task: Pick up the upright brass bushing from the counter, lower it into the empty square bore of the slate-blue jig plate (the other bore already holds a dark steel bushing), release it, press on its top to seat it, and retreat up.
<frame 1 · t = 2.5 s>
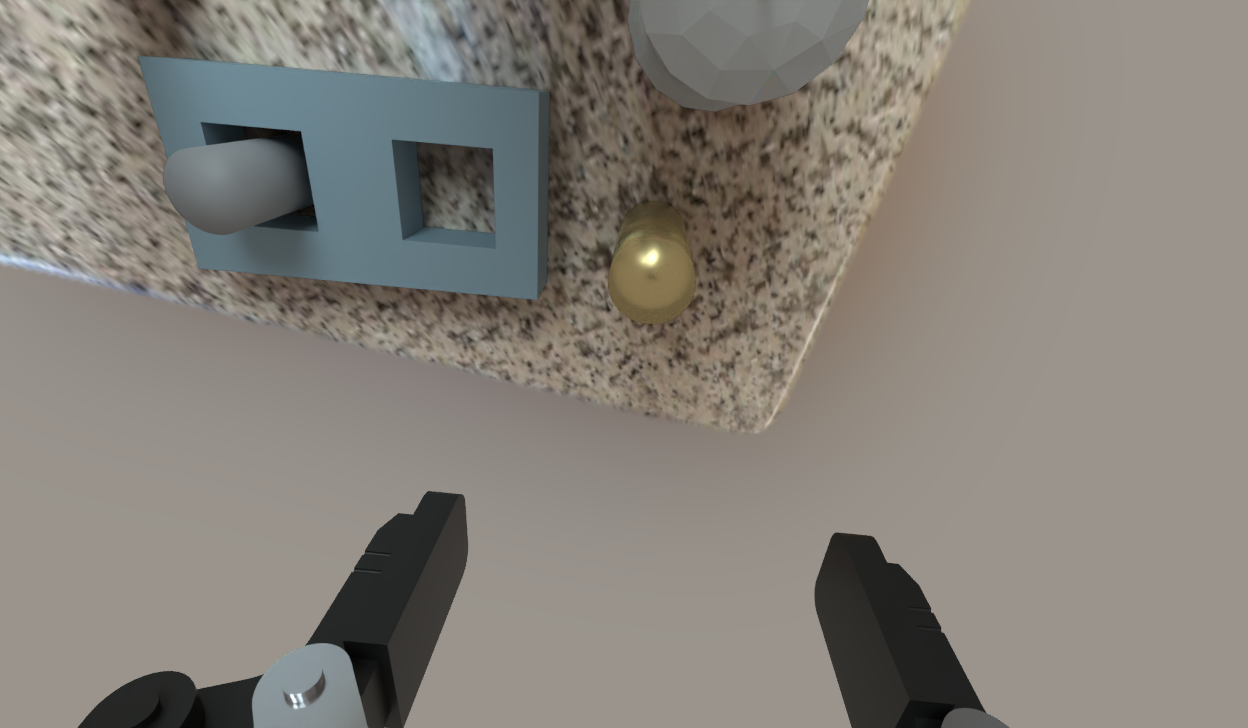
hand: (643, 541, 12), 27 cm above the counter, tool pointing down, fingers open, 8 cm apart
jig: (380, 178, 36), on the counter
french press: (730, 7, 30), on the counter
bushing: (652, 234, 36), on the counter
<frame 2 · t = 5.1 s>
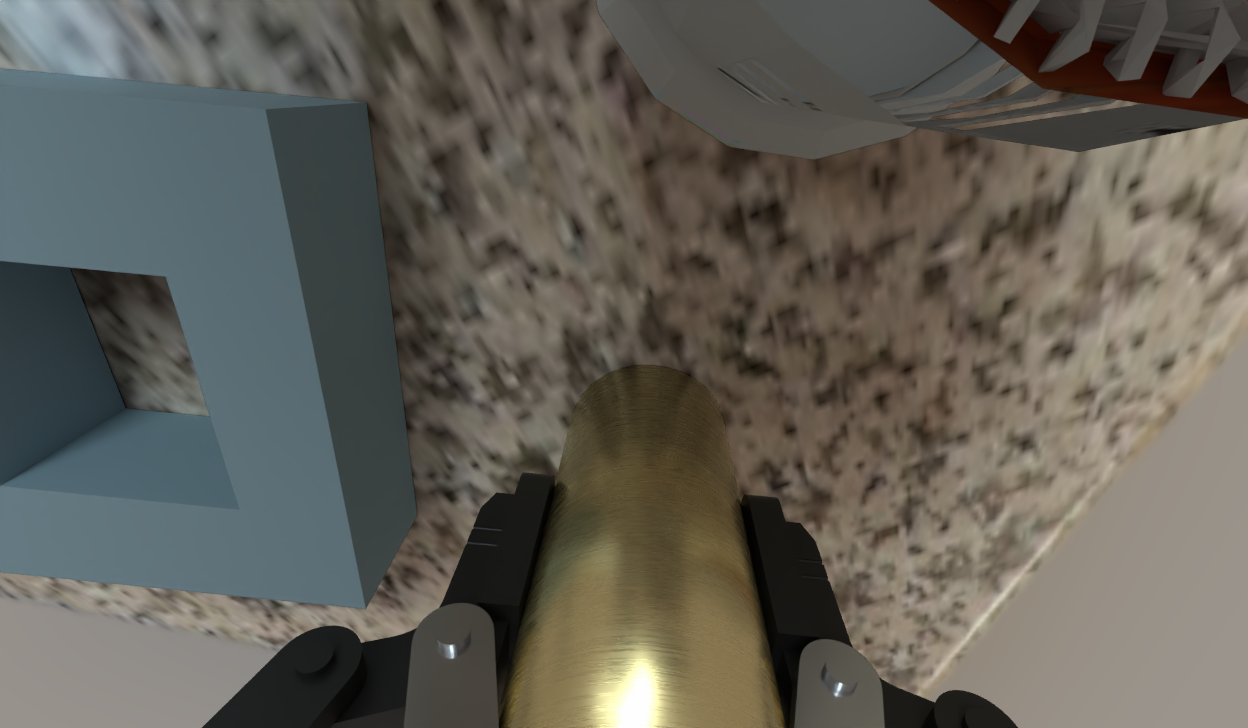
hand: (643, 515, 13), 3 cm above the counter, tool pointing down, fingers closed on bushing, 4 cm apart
bushing: (647, 433, 16), on the counter, touching gripper
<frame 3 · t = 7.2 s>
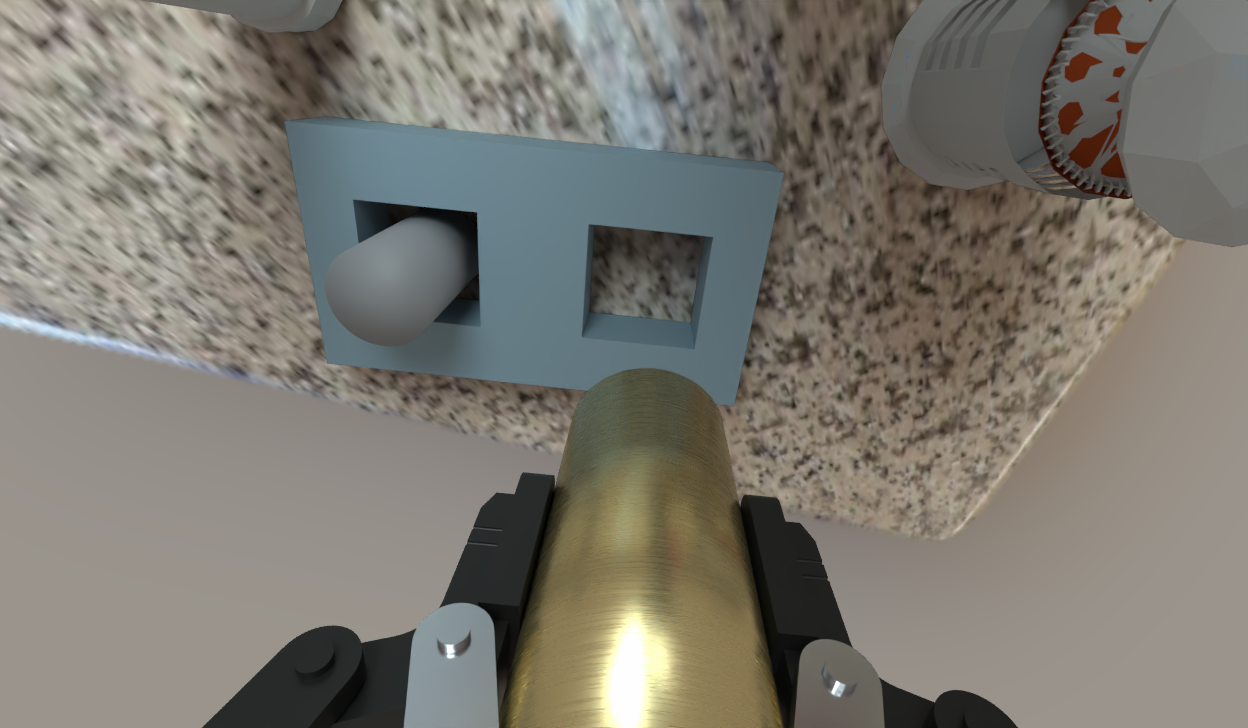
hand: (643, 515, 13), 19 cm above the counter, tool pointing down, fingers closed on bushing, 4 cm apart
jig: (544, 257, 30), on the counter
french press: (1010, 68, 25), on the counter
bushing: (646, 435, 16), point 16 cm above the counter, touching gripper
when the fingers open (5 cm above the counter, at t = 9.6 s): bushing drops 1 cm, resting in jig.
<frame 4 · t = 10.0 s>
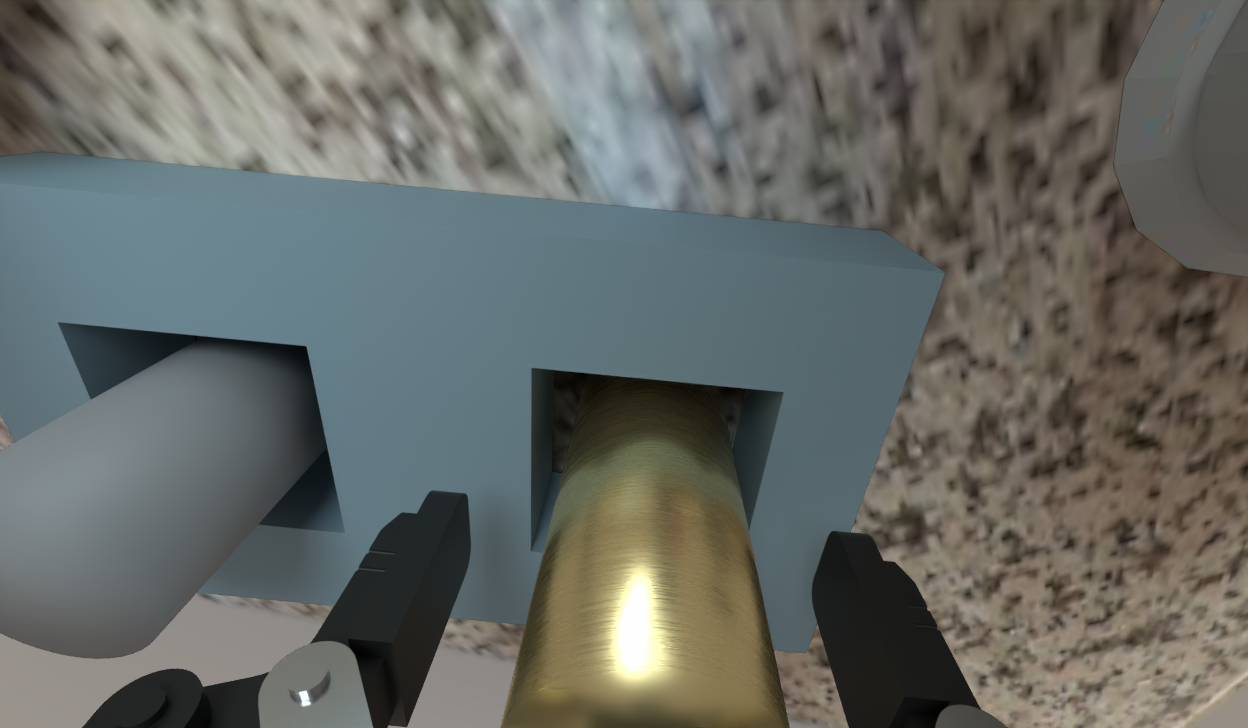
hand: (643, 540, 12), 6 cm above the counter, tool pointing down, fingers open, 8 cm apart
jig: (470, 389, 17), on the counter
bushing: (650, 408, 17), resting in jig
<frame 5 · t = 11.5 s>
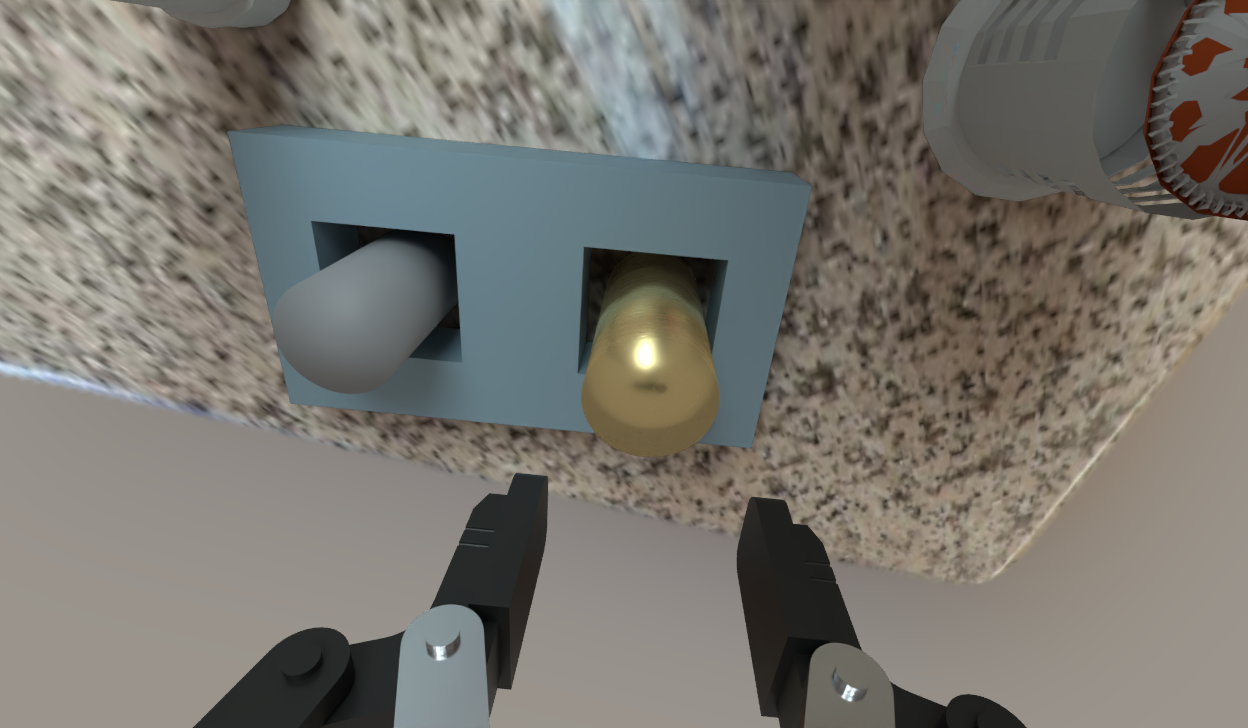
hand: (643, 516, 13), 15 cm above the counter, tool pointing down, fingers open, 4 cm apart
jig: (535, 281, 26), on the counter
french press: (1074, 61, 21), on the counter
bushing: (651, 293, 26), resting in jig
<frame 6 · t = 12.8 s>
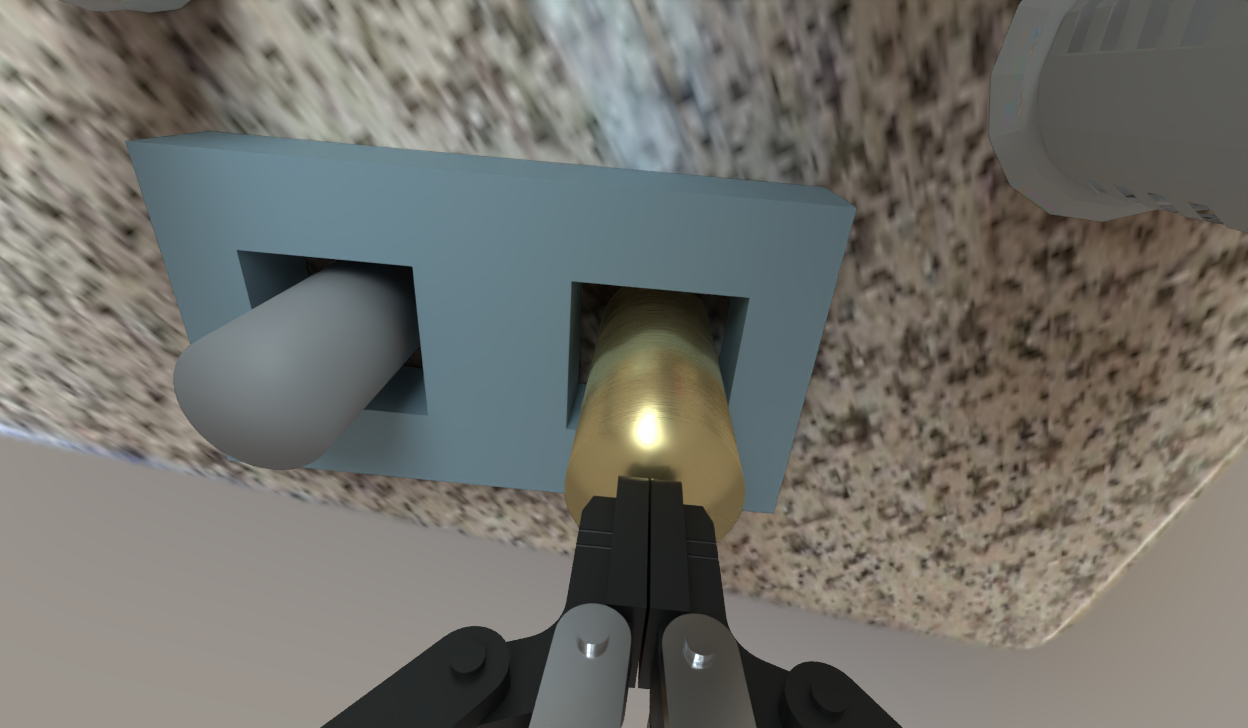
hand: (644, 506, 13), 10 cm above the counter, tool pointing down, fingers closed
jig: (517, 315, 22), on the counter
french press: (1182, 49, 17), on the counter
bushing: (655, 329, 22), resting in jig
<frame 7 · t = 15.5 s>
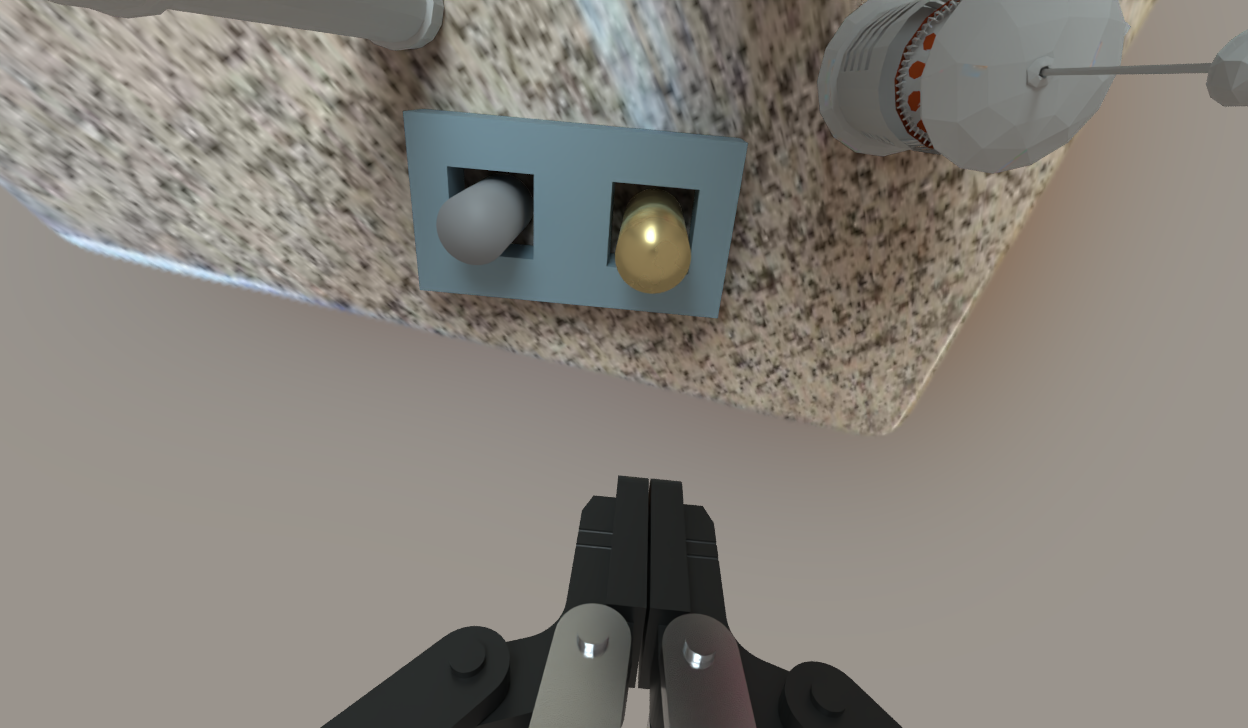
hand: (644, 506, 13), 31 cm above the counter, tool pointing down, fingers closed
jig: (577, 211, 41), on the counter
french press: (907, 69, 35), on the counter
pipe: (401, 5, 35), on the counter
bushing: (653, 219, 41), resting in jig
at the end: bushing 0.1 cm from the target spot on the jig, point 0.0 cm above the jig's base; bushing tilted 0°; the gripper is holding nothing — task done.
